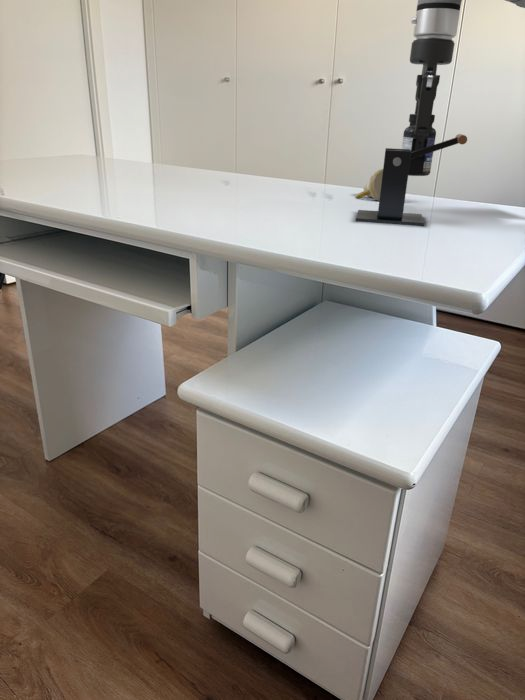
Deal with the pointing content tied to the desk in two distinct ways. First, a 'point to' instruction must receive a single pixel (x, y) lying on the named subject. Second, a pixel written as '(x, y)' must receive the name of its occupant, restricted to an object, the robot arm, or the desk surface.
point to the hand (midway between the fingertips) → (414, 172)
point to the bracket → (393, 192)
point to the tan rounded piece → (372, 186)
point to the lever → (440, 146)
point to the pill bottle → (431, 141)
